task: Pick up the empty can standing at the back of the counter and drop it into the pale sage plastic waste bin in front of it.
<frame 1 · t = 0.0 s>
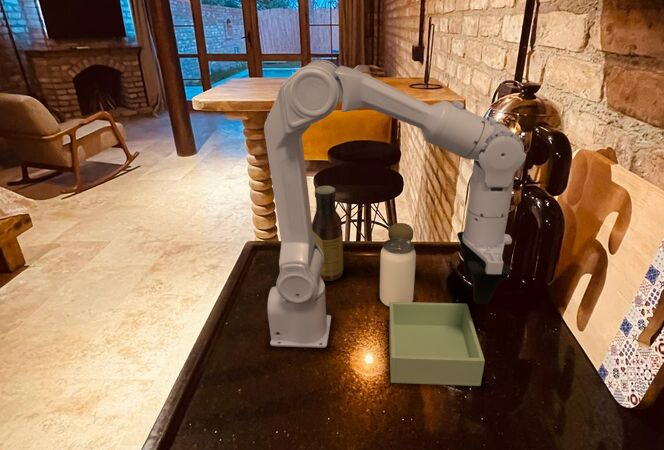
hand: (476, 287, 65), 10 cm above the kitchen counter, tool pointing down, fingers open, 7 cm apart
sauce bottle: (329, 275, 87), on the kitchen counter
can: (396, 300, 79), on the kitchen counter
bin: (430, 352, 66), on the kitchen counter
olive game pawn: (399, 272, 88), on the kitchen counter
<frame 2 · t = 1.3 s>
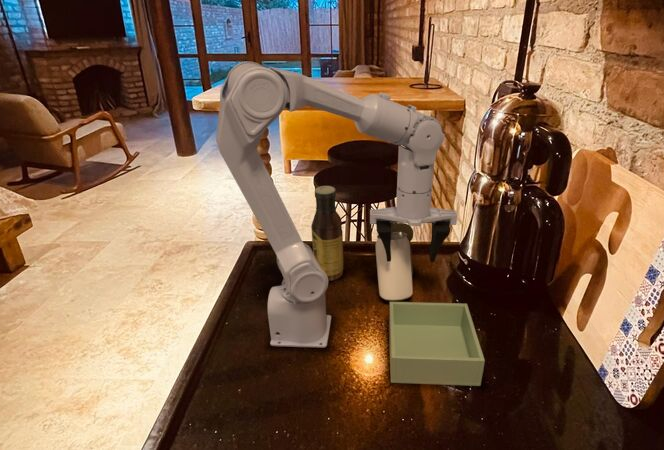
hand: (410, 258, 73), 10 cm above the kitchen counter, tool pointing down, fingers open, 7 cm apart
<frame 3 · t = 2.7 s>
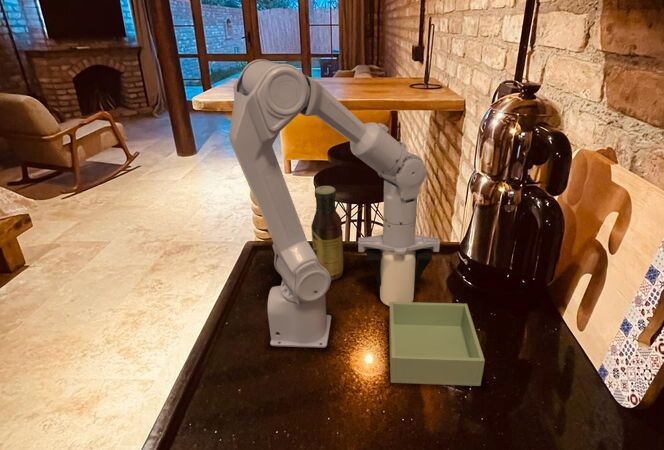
hand: (396, 282, 77), 4 cm above the kitchen counter, tool pointing down, fingers closed on can, 6 cm apart
can: (396, 299, 79), on the kitchen counter, touching gripper
everything else where it was.
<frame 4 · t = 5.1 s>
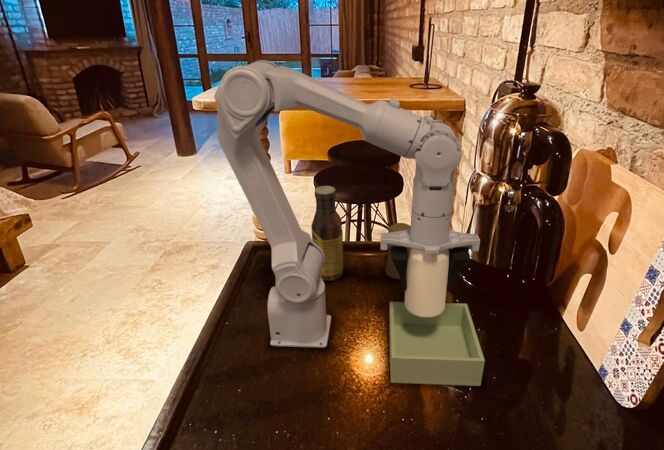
hand: (425, 287, 65), 10 cm above the kitchen counter, tool pointing down, fingers closed on can, 6 cm apart
can: (424, 307, 66), point 6 cm above the kitchen counter, touching gripper
everything else where it was.
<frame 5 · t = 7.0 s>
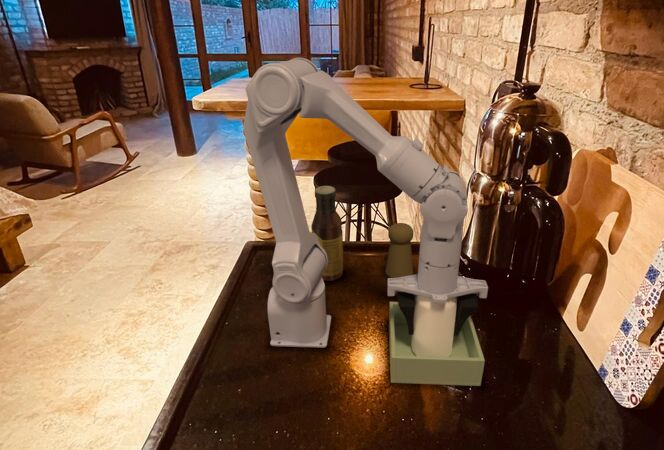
hand: (432, 331, 64), 4 cm above the kitchen counter, tool pointing down, fingers closed on can, 6 cm apart
can: (431, 350, 66), resting on bin, touching gripper
everything else where it was.
when the fingers open (4 cm above the kitchen counter, at t = 7.6 s): can stays where it is, resting on bin.
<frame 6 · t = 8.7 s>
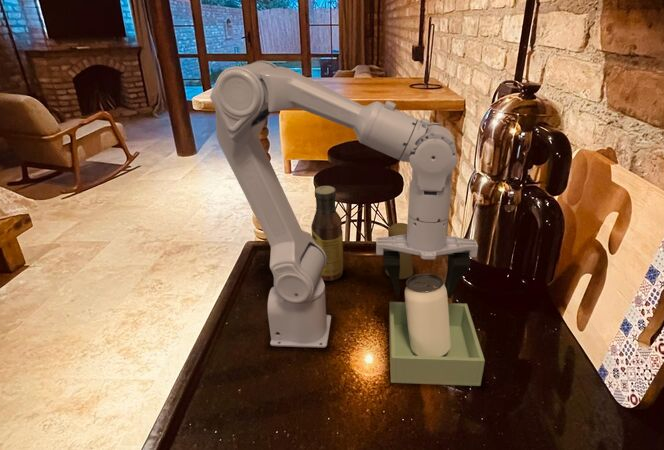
hand: (422, 293, 63), 10 cm above the kitchen counter, tool pointing down, fingers open, 7 cm apart
can: (430, 348, 66), point 1 cm above the kitchen counter, touching bin, gripper
everything else where it was.
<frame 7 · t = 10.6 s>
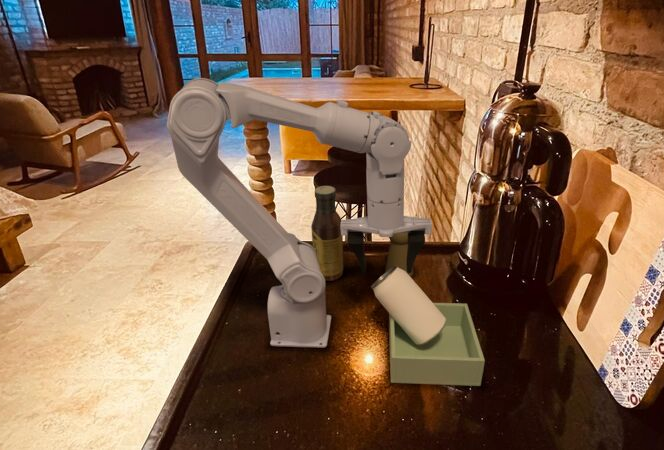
hand: (386, 269, 69), 10 cm above the kitchen counter, tool pointing down, fingers open, 7 cm apart
can: (432, 333, 66), point 3 cm above the kitchen counter, touching bin
everything else where it was.
at the end: can inside the target area in the bin (1.5 cm from its centre), point 2.7 cm above the bin's base; the gripper is holding nothing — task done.
